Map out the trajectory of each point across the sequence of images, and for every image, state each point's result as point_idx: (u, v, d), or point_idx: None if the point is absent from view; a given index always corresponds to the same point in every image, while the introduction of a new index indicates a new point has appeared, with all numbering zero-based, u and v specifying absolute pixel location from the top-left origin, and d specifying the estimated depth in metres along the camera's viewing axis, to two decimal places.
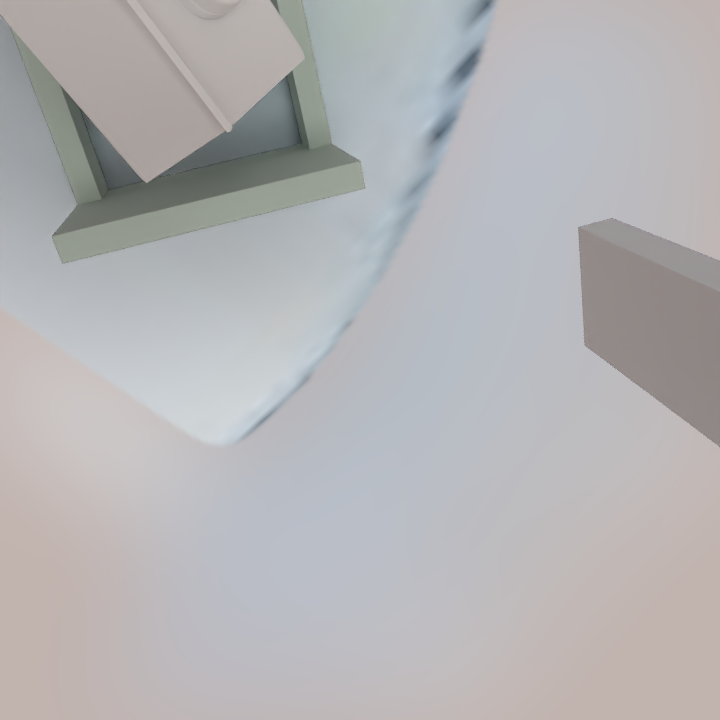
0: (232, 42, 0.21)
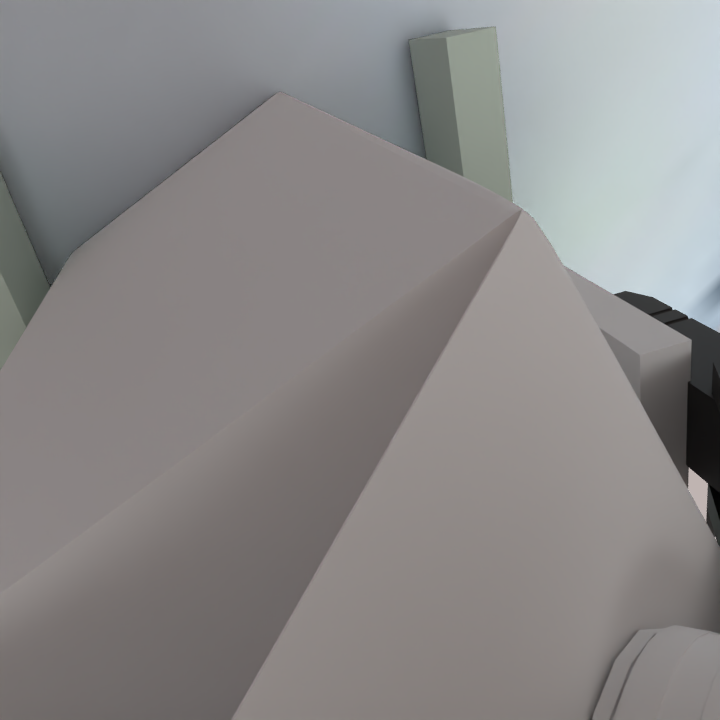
0: None
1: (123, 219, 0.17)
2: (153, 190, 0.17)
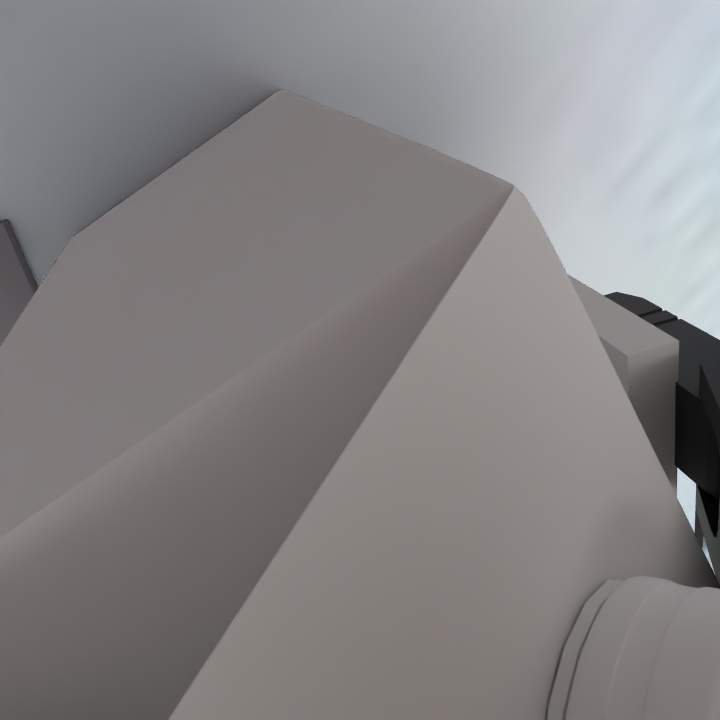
0: None
1: (124, 206, 0.17)
2: (154, 180, 0.18)
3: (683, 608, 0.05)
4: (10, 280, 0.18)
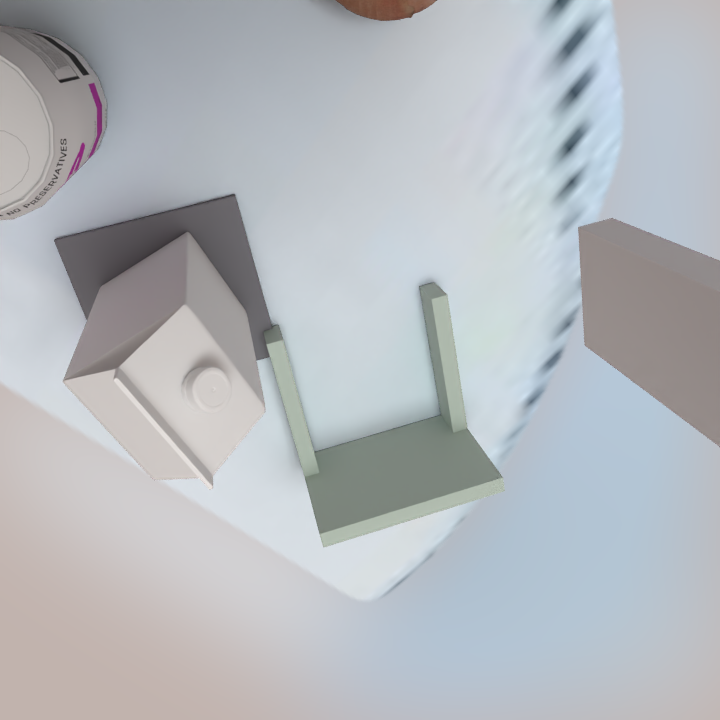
0: (218, 419, 0.33)
1: (122, 277, 0.44)
2: (135, 265, 0.45)
3: (203, 368, 0.32)
4: (235, 218, 0.46)
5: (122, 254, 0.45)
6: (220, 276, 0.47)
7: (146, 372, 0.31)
